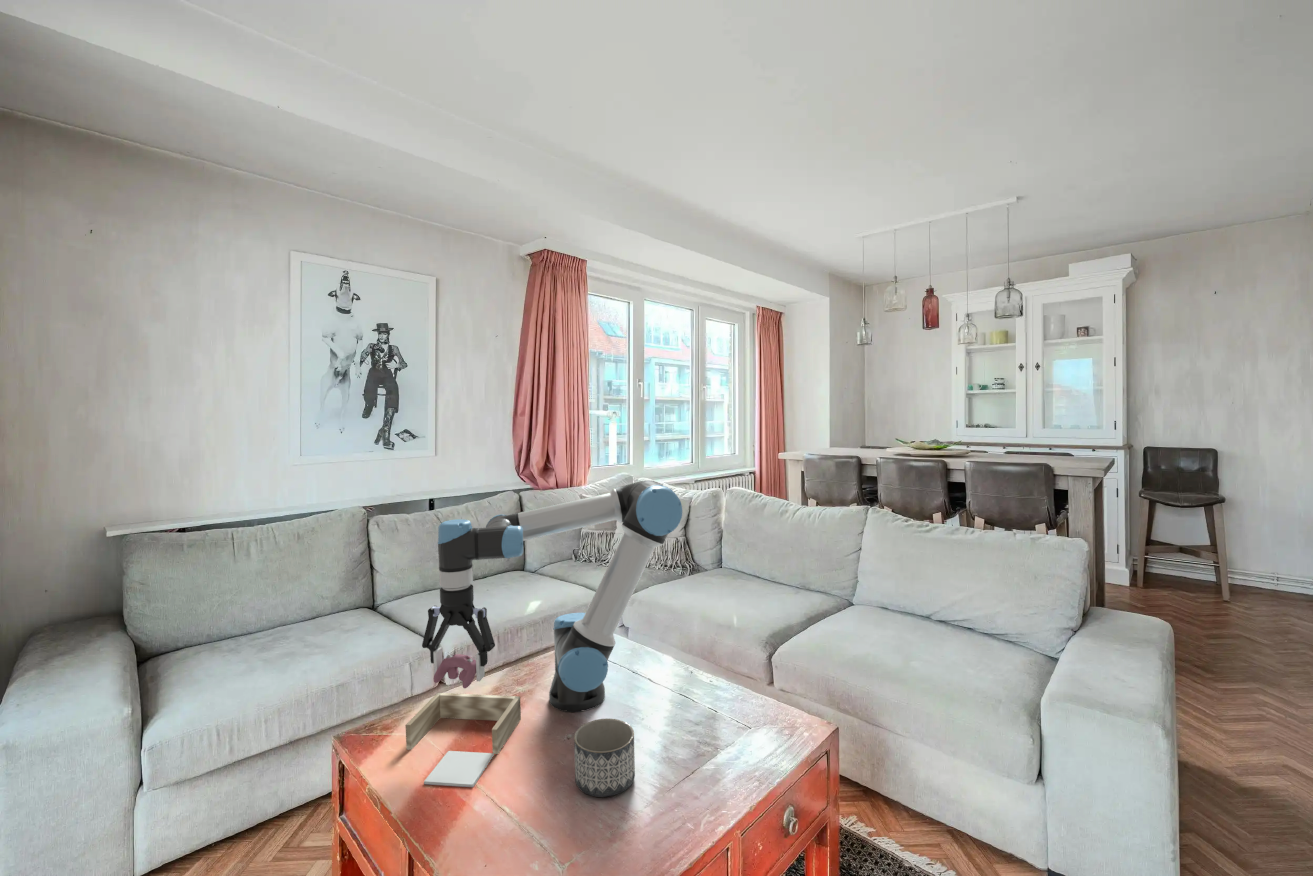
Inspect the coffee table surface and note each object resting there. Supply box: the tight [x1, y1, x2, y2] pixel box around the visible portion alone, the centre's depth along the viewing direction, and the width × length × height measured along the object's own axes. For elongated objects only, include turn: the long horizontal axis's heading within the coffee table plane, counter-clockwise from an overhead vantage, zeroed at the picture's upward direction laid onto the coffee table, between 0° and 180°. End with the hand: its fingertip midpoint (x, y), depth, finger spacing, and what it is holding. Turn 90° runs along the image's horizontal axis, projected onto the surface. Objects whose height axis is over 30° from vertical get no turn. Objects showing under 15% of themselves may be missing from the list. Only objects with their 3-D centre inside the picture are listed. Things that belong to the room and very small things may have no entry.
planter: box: [573, 718, 636, 798], centre depth 123 cm, size 13×13×10 cm
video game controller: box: [433, 653, 476, 689], centre depth 137 cm, size 10×5×7 cm, turn 70°
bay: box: [405, 692, 522, 755], centre depth 142 cm, size 22×15×6 cm
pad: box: [423, 750, 495, 788], centre depth 128 cm, size 11×11×1 cm
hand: (459, 677), depth 138 cm, fingers closed on video game controller, 10 cm apart
